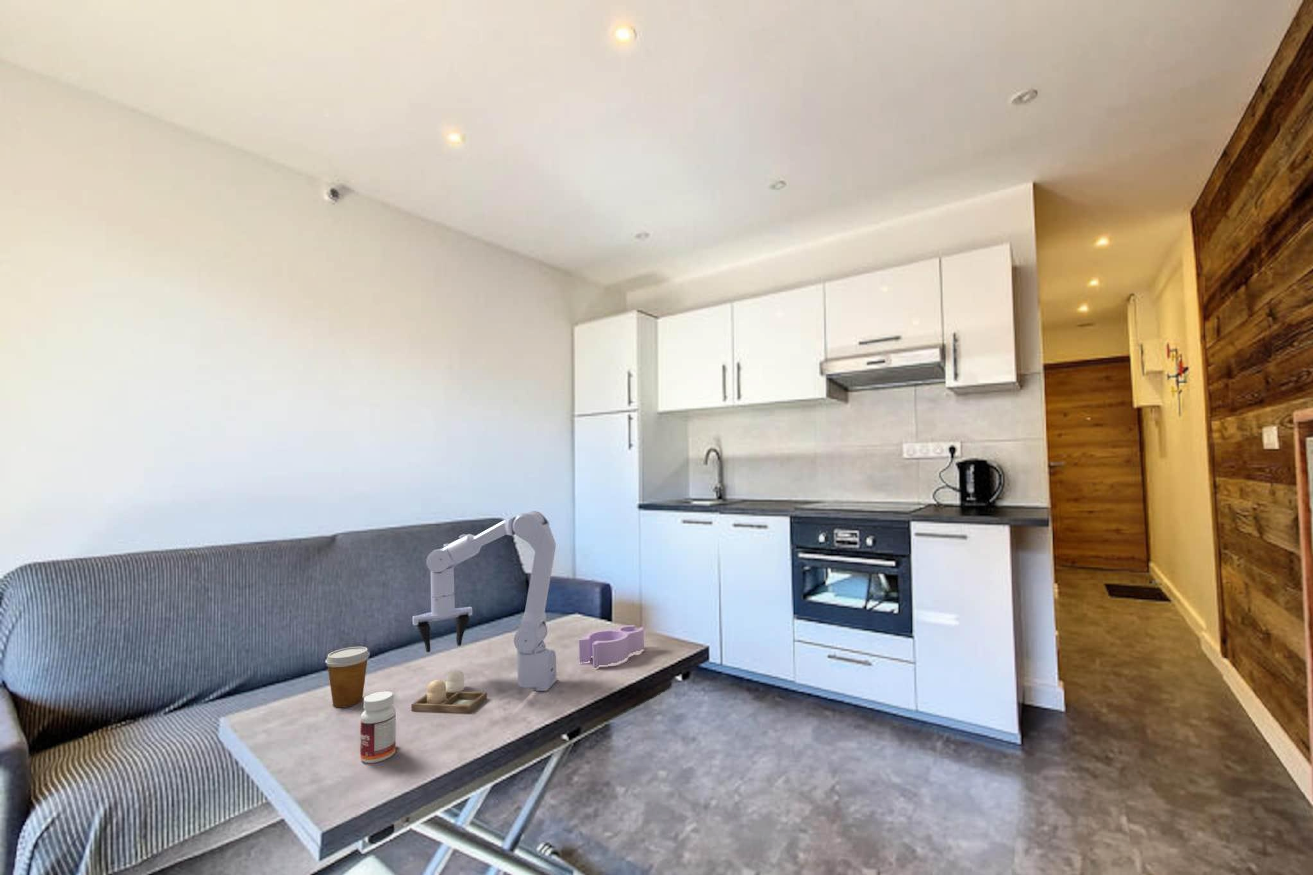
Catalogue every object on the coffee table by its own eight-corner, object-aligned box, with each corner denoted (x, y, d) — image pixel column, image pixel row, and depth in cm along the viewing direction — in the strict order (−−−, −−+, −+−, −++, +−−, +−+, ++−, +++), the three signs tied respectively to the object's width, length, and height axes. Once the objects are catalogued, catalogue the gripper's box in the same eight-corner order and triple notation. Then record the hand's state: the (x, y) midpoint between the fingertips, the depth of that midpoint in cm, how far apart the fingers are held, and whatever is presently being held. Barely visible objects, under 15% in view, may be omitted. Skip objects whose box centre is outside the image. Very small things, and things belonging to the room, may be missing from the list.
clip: (626, 645, 170) (625, 622, 170) (653, 653, 161) (652, 629, 161) (573, 662, 156) (572, 637, 156) (600, 672, 147) (599, 646, 147)
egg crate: (487, 701, 130) (486, 692, 130) (469, 716, 122) (469, 706, 122) (431, 699, 132) (431, 690, 132) (411, 714, 124) (411, 704, 124)
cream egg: (467, 689, 138) (467, 666, 139) (458, 696, 134) (458, 672, 134) (452, 688, 139) (451, 666, 139) (442, 695, 135) (442, 672, 135)
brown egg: (449, 700, 129) (449, 677, 130) (439, 708, 125) (439, 683, 126) (433, 700, 130) (433, 676, 130) (423, 707, 126) (423, 683, 126)
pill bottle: (355, 757, 105) (355, 697, 106) (387, 744, 110) (387, 687, 111) (368, 767, 101) (368, 705, 102) (401, 754, 106) (401, 694, 107)
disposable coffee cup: (378, 697, 135) (378, 648, 136) (342, 713, 127) (342, 660, 127) (352, 692, 139) (352, 644, 140) (316, 707, 131) (316, 656, 131)
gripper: (467, 588, 150) (468, 638, 149) (410, 596, 142) (410, 650, 141) (474, 592, 144) (475, 644, 143) (415, 601, 136) (415, 656, 135)
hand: (443, 647), depth 141 cm, fingers open, 7 cm apart
